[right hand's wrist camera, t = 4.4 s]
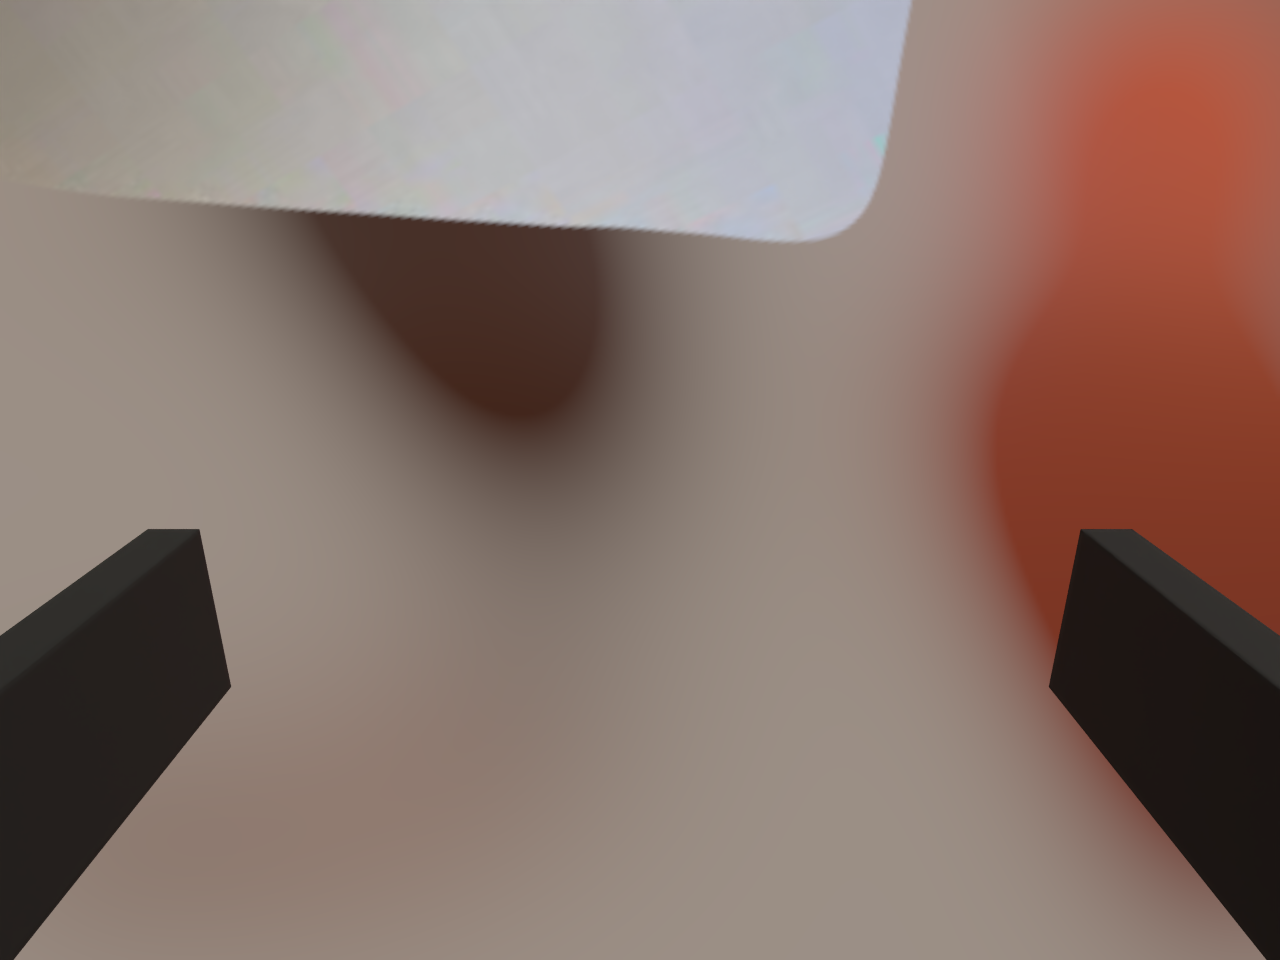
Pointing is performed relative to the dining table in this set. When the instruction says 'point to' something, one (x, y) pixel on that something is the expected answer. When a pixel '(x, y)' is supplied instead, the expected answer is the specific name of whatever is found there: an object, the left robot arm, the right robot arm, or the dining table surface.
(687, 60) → the dining table surface
